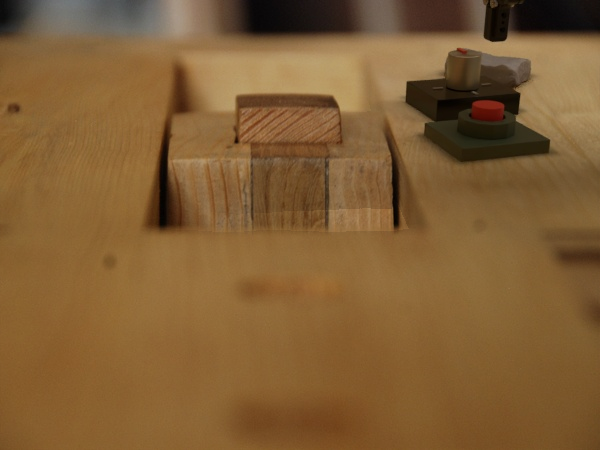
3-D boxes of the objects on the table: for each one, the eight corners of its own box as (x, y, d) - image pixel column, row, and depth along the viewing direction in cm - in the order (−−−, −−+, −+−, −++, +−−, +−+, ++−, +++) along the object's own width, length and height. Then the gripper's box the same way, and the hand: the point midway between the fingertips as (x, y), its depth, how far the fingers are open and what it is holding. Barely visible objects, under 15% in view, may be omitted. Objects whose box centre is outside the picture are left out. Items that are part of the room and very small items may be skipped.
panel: (482, 95, 117) (484, 74, 116) (518, 115, 109) (521, 91, 107) (405, 102, 114) (406, 80, 113) (435, 122, 105) (437, 98, 104)
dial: (484, 89, 109) (487, 53, 107) (453, 91, 108) (456, 55, 106) (470, 81, 113) (473, 46, 111) (440, 83, 112) (443, 48, 110)
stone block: (464, 77, 134) (438, 77, 126) (470, 47, 132) (444, 46, 124) (533, 91, 128) (511, 92, 119) (540, 60, 126) (519, 59, 118)
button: (493, 113, 97) (494, 99, 96) (508, 122, 93) (510, 107, 93) (465, 116, 96) (466, 101, 95) (480, 124, 93) (481, 109, 92)
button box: (504, 132, 102) (507, 100, 100) (548, 157, 93) (552, 124, 92) (423, 139, 99) (425, 107, 97) (461, 167, 90) (464, 132, 89)
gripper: (450, -129, 89) (439, 30, 96) (509, -126, 78) (492, 56, 85) (512, -130, 91) (497, 27, 98) (579, -127, 79) (556, 51, 87)
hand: (495, 40), depth 91 cm, fingers closed
